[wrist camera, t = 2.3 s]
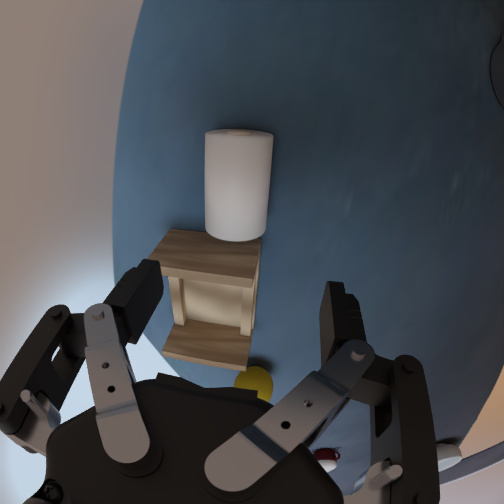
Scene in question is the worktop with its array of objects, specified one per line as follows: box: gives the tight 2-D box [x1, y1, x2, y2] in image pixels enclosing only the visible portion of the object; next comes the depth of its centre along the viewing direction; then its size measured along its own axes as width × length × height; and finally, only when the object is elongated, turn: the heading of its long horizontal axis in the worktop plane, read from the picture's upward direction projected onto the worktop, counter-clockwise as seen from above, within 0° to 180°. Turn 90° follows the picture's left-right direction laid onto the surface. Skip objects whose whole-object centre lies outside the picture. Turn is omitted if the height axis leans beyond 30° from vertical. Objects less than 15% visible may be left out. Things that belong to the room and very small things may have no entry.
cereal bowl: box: [436, 443, 462, 472], centre depth 56 cm, size 17×17×7 cm
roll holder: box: [148, 229, 262, 371], centre depth 32 cm, size 13×10×7 cm
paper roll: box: [205, 129, 274, 241], centre depth 25 cm, size 9×6×6 cm
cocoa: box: [313, 449, 340, 472], centre depth 54 cm, size 10×6×12 cm, turn 112°
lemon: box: [234, 366, 273, 402], centre depth 39 cm, size 6×6×8 cm
